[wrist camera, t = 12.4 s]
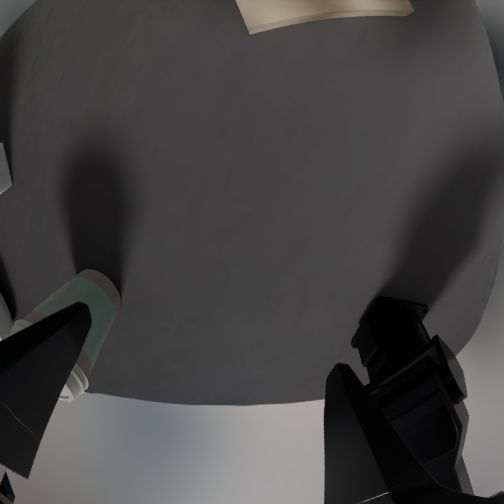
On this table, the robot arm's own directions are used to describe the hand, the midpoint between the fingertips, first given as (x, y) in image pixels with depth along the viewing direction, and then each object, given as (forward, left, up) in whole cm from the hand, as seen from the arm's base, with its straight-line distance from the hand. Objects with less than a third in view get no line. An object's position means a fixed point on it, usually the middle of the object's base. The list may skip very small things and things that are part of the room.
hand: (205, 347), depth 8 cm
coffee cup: (+14, +12, -13) cm, 23 cm away
